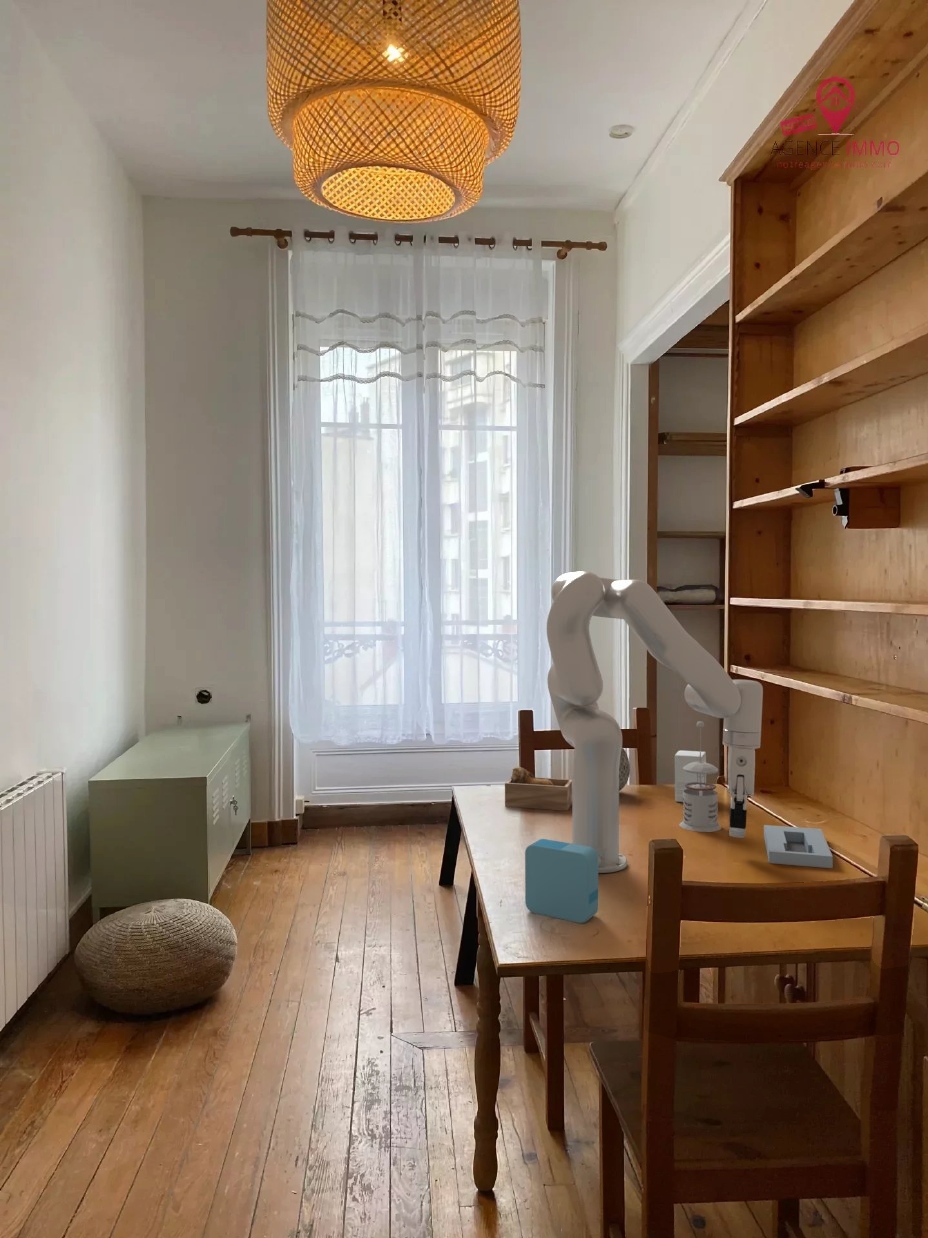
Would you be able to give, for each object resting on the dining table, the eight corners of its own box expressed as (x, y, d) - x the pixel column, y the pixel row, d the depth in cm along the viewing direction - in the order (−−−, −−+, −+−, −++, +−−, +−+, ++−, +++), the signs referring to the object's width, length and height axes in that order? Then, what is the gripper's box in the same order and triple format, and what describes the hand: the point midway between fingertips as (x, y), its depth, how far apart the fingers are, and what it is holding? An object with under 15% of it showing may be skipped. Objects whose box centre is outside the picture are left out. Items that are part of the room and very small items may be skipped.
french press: (678, 830, 194) (678, 723, 193) (680, 817, 205) (680, 716, 204) (722, 833, 191) (722, 725, 190) (721, 820, 202) (722, 717, 201)
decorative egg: (587, 788, 236) (586, 735, 235) (629, 789, 234) (629, 736, 234) (586, 798, 224) (586, 743, 224) (630, 799, 222) (630, 744, 222)
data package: (598, 916, 143) (598, 847, 143) (588, 925, 139) (588, 854, 139) (536, 903, 149) (536, 837, 149) (524, 911, 145) (524, 843, 145)
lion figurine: (507, 801, 220) (507, 768, 220) (515, 797, 225) (516, 764, 224) (559, 809, 213) (560, 774, 213) (566, 804, 218) (567, 770, 217)
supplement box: (706, 798, 224) (707, 751, 223) (702, 804, 217) (702, 756, 216) (679, 795, 227) (679, 749, 226) (674, 801, 220) (674, 754, 220)
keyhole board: (832, 868, 166) (832, 856, 166) (768, 863, 170) (769, 851, 170) (820, 839, 186) (820, 829, 186) (763, 835, 189) (763, 825, 189)
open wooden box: (567, 810, 212) (567, 787, 212) (504, 806, 217) (504, 783, 217) (573, 802, 221) (573, 779, 220) (513, 798, 225) (513, 776, 225)
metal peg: (749, 840, 172) (751, 791, 172) (725, 837, 173) (727, 788, 173) (748, 833, 177) (750, 786, 176) (724, 831, 178) (727, 783, 178)
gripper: (762, 746, 165) (758, 838, 166) (758, 734, 181) (754, 818, 182) (723, 743, 168) (718, 833, 168) (722, 731, 183) (718, 814, 184)
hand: (737, 824), depth 175 cm, fingers closed on metal peg, 3 cm apart
